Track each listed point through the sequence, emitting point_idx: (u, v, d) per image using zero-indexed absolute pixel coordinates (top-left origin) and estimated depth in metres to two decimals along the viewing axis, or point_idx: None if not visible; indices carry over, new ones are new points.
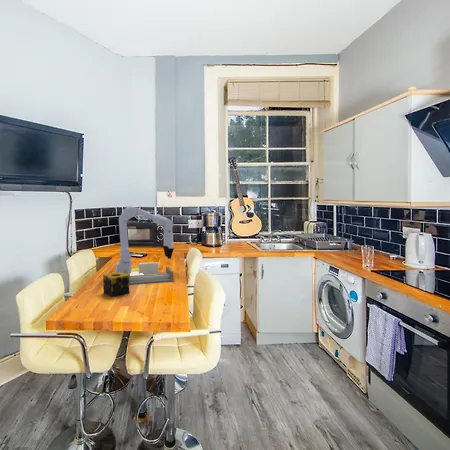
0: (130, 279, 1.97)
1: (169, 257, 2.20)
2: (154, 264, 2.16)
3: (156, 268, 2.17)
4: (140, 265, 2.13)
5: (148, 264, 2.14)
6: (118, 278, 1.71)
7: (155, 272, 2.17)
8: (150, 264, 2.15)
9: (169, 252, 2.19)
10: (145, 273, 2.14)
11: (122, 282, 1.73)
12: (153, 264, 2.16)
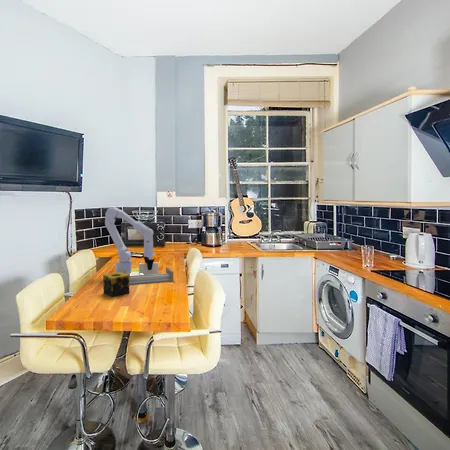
0: (130, 279, 1.97)
1: (149, 268, 2.12)
2: (154, 264, 2.16)
3: (156, 268, 2.17)
4: (140, 265, 2.13)
5: None
6: (118, 278, 1.71)
7: (155, 272, 2.17)
8: None
9: (149, 263, 2.11)
10: (145, 273, 2.14)
11: (122, 282, 1.73)
12: (153, 264, 2.16)
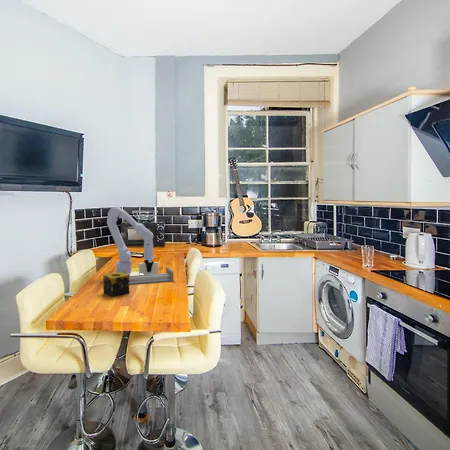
0: (130, 279, 1.97)
1: (149, 270, 2.14)
2: (154, 264, 2.16)
3: (156, 268, 2.17)
4: (140, 265, 2.13)
5: None
6: (118, 278, 1.71)
7: (155, 272, 2.17)
8: None
9: (149, 265, 2.14)
10: (145, 273, 2.14)
11: (122, 282, 1.73)
12: (153, 264, 2.16)
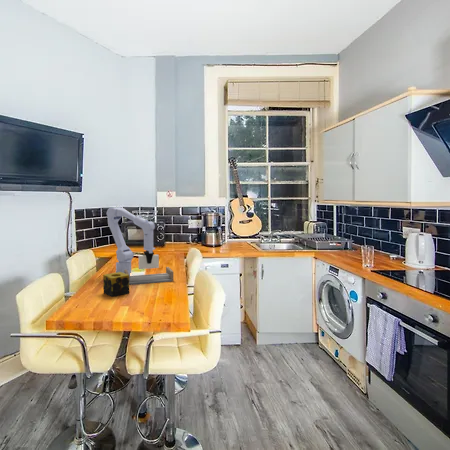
0: (130, 279, 1.97)
1: (149, 262, 2.06)
2: (154, 256, 2.08)
3: (156, 260, 2.09)
4: (140, 257, 2.05)
5: None
6: (118, 278, 1.71)
7: (155, 265, 2.09)
8: None
9: (149, 256, 2.06)
10: (145, 266, 2.06)
11: (122, 282, 1.73)
12: (153, 256, 2.08)
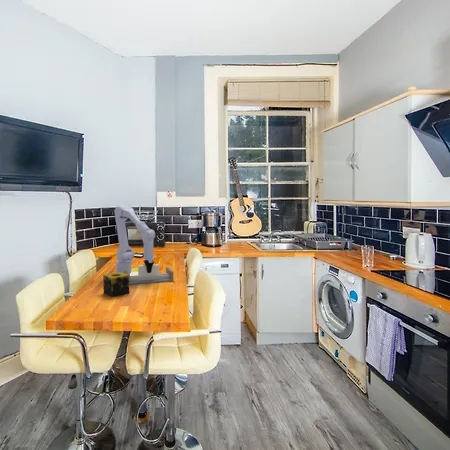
0: (130, 279, 1.97)
1: (149, 271, 2.01)
2: (154, 266, 2.03)
3: (156, 271, 2.04)
4: (139, 267, 2.00)
5: None
6: (118, 278, 1.71)
7: (155, 275, 2.04)
8: None
9: (149, 266, 2.01)
10: None
11: (122, 282, 1.73)
12: (153, 266, 2.03)
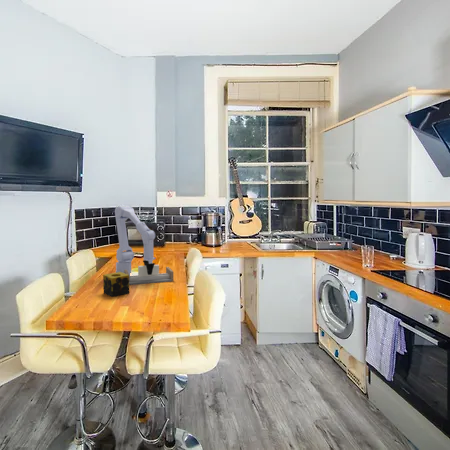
0: (130, 279, 1.97)
1: (149, 273, 1.99)
2: (154, 267, 2.03)
3: (156, 271, 2.04)
4: (139, 268, 2.00)
5: None
6: (118, 278, 1.71)
7: (155, 275, 2.04)
8: None
9: (149, 267, 1.99)
10: None
11: (122, 282, 1.73)
12: (153, 267, 2.03)
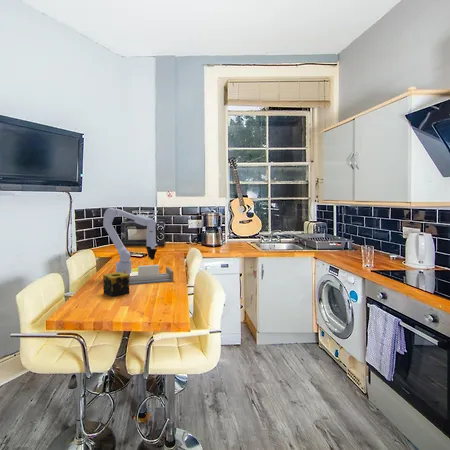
0: (130, 279, 1.97)
1: (152, 258, 2.14)
2: (154, 267, 2.03)
3: (156, 271, 2.04)
4: (139, 268, 2.00)
5: (148, 267, 2.02)
6: (118, 278, 1.71)
7: (155, 275, 2.04)
8: (150, 267, 2.02)
9: (152, 253, 2.13)
10: None
11: (122, 282, 1.73)
12: (153, 267, 2.03)
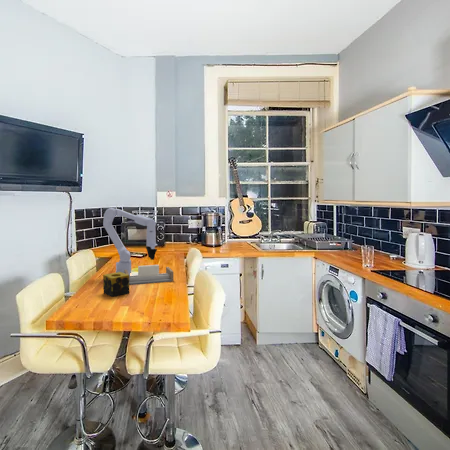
0: (130, 279, 1.97)
1: (152, 258, 2.14)
2: (154, 267, 2.03)
3: (156, 271, 2.04)
4: (139, 268, 2.00)
5: (148, 267, 2.02)
6: (118, 278, 1.71)
7: (155, 275, 2.04)
8: (150, 267, 2.02)
9: (152, 253, 2.13)
10: None
11: (122, 282, 1.73)
12: (153, 267, 2.03)
